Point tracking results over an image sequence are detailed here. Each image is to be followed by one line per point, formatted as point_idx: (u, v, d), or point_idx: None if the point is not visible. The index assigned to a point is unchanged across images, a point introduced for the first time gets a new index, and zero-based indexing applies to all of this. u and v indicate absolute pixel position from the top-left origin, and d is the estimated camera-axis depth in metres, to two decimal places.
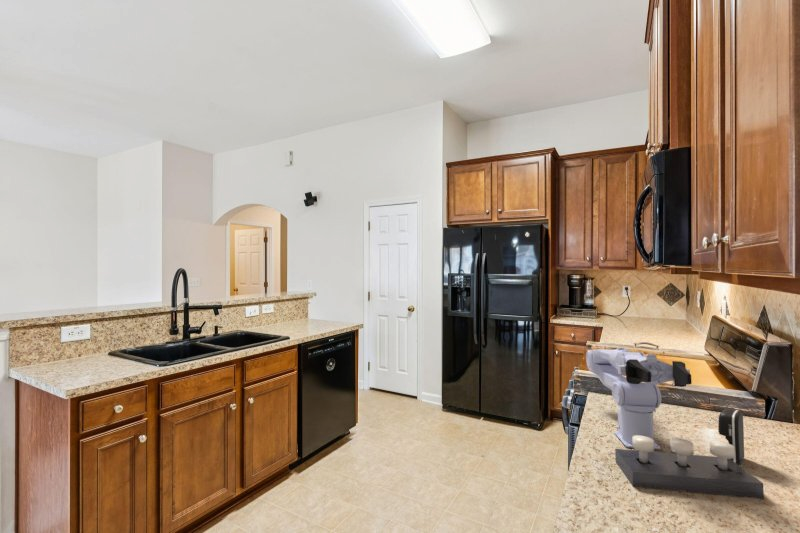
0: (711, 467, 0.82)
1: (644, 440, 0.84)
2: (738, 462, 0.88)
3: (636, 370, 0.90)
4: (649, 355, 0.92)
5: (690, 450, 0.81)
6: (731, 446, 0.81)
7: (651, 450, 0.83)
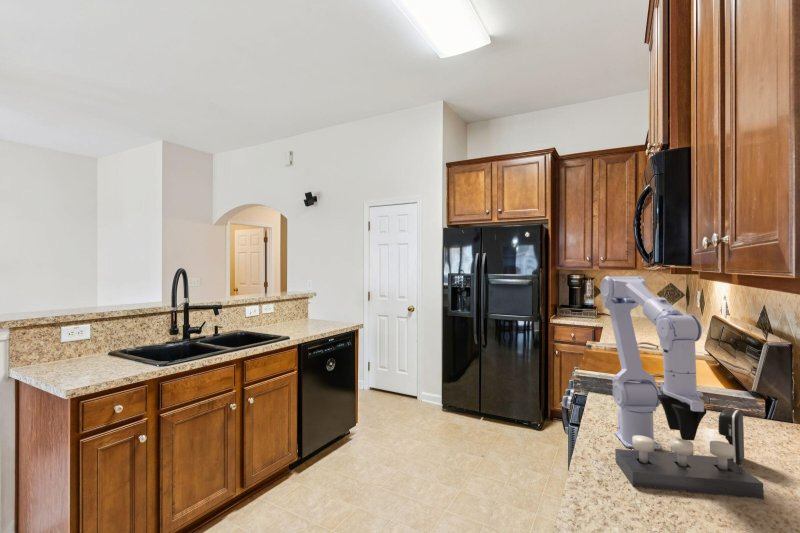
0: (711, 467, 0.82)
1: (644, 440, 0.84)
2: (738, 462, 0.88)
3: (690, 412, 0.80)
4: None
5: (690, 450, 0.81)
6: (731, 446, 0.81)
7: (651, 450, 0.83)
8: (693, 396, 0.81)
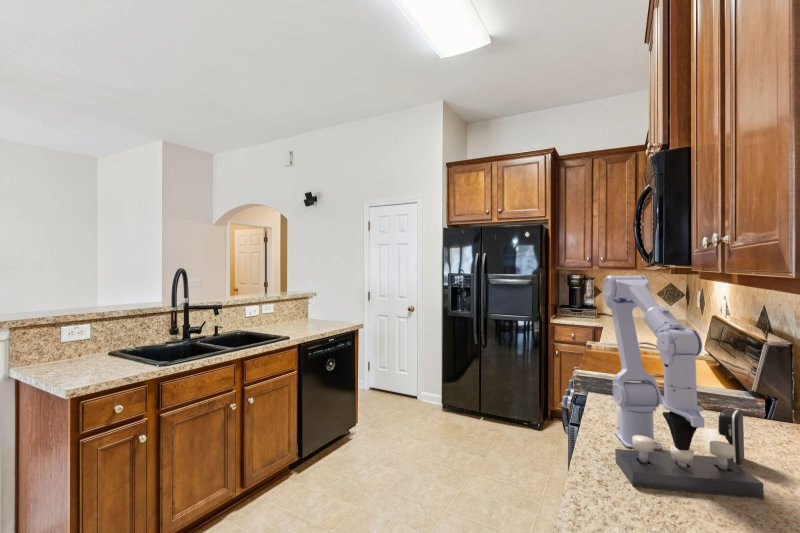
0: (711, 467, 0.82)
1: (644, 440, 0.84)
2: (738, 462, 0.88)
3: (685, 423, 0.83)
4: None
5: (690, 457, 0.81)
6: (731, 446, 0.81)
7: (651, 450, 0.83)
8: (694, 411, 0.81)
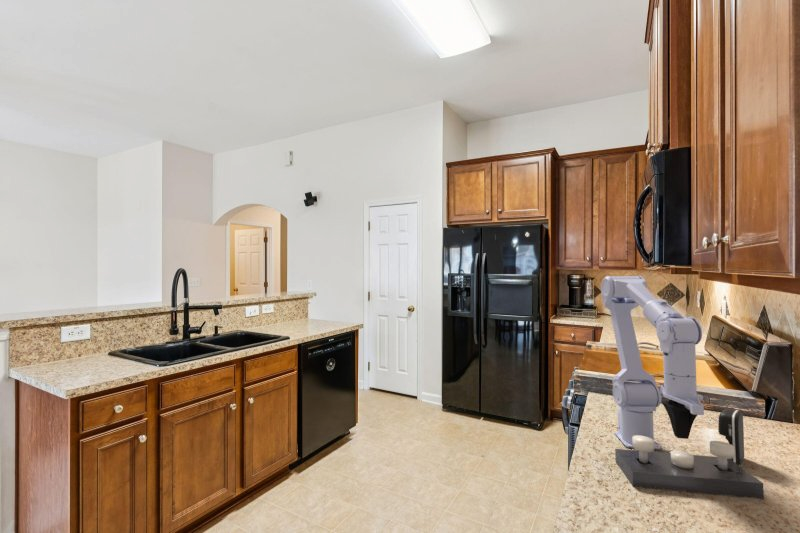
0: (711, 467, 0.82)
1: (644, 440, 0.84)
2: (738, 462, 0.88)
3: (684, 411, 0.83)
4: None
5: (690, 463, 0.81)
6: (731, 446, 0.81)
7: (651, 450, 0.83)
8: (693, 399, 0.81)
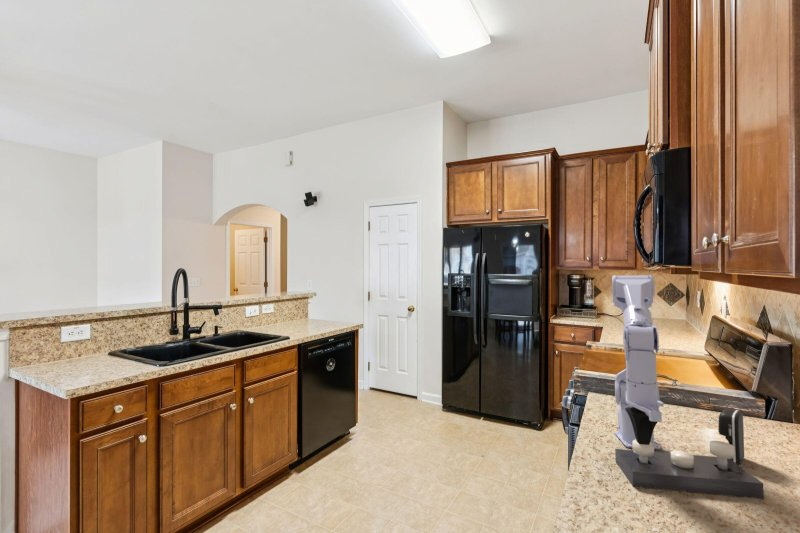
0: (711, 467, 0.82)
1: None
2: (738, 462, 0.88)
3: (646, 418, 0.84)
4: None
5: (690, 463, 0.81)
6: (731, 446, 0.81)
7: (651, 454, 0.83)
8: (653, 406, 0.82)
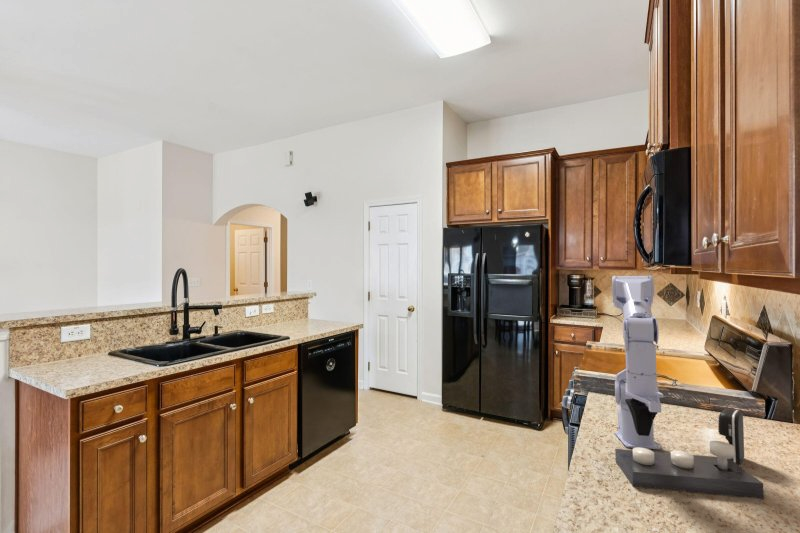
0: (711, 467, 0.82)
1: (644, 452, 0.84)
2: (738, 462, 0.88)
3: (645, 409, 0.84)
4: None
5: (690, 463, 0.81)
6: (731, 446, 0.81)
7: (651, 463, 0.83)
8: (653, 397, 0.82)
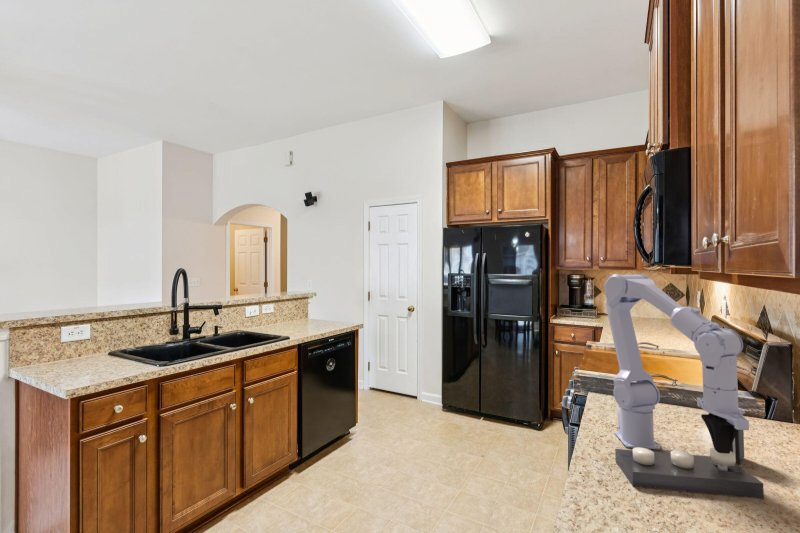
0: (711, 467, 0.82)
1: (644, 452, 0.84)
2: (738, 462, 0.88)
3: (726, 425, 0.81)
4: None
5: (690, 463, 0.81)
6: (731, 453, 0.81)
7: (651, 463, 0.83)
8: (735, 413, 0.79)
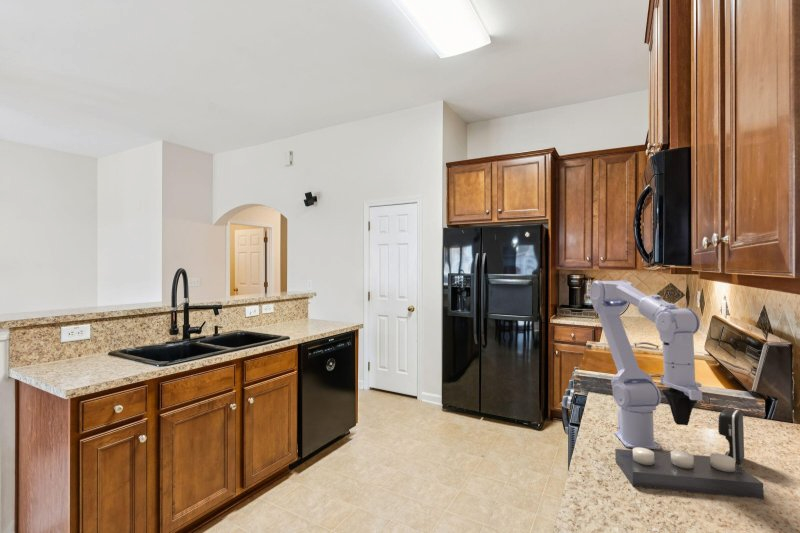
0: (711, 467, 0.82)
1: (644, 452, 0.84)
2: (738, 462, 0.88)
3: (684, 398, 0.86)
4: None
5: (690, 463, 0.81)
6: (731, 459, 0.81)
7: (651, 463, 0.83)
8: (692, 386, 0.84)
